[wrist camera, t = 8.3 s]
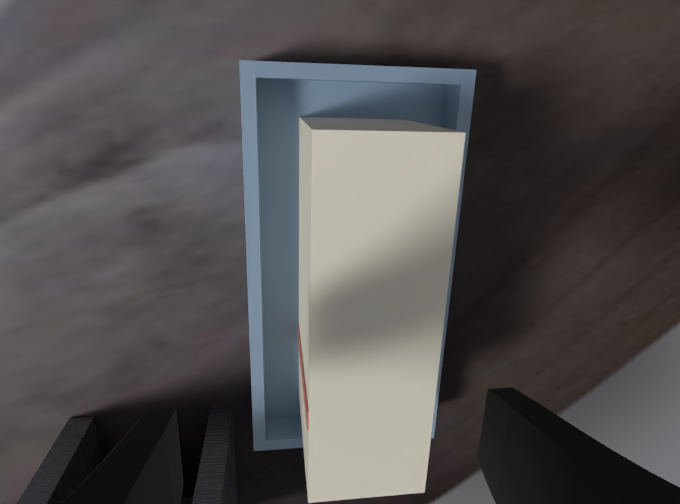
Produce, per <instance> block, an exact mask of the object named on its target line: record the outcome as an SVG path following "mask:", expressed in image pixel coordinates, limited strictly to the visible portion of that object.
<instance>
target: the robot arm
mask: <svg viewBox="0 0 680 504" xmlns="http://www.w3.org/2000/svg"><path fill="white" fill-rule="evenodd" d="M478 461H479V464H480V466H481V469H482V471H483V474H484V476H485V479H486V481H487V484H488V486H489V489H490V491H491V494H492V496H493V498H494V500H495V502H496V504H680V487H678V486H676V485H674V484H672V483H669V482H668V481H666V480H664V479H662V478H660V477H658V476H657V475H655V474H653V473H651V472H649V471H647V470H646V469H644V468H642V467H640V466H639V465H637V464H635V463H633V462H632V461H630V460H628V459H627V458H625V457H623V456H621V455H620V454H618V453H616V452H614V451H613V450H611V449H609V448H608V447H606V446H605V445H603V444H601V443H600V442H598V441H596V440H595V439H593V438H592V437H590V436H588V435H587V434H585V433H584V432H582V431H580V430H579V429H577V428H576V427H574V426H573V425H571V424H570V423H568V422H566V421H565V420H563V419H562V418H560V417H559V416H557V415H556V414H554V413H552V412H551V411H549V410H548V409H546V408H545V407H543V406H542V405H540V404H538V403H537V402H535V401H534V400H532V399H531V398H529V397H527V396H526V395H524V394H522V393H521V392H519V391H517V390H515V389H513V388H497V389H488V392H487V398H486V405H485V412H484V418H483V425H482V431H481V438H480V444H479V451H478ZM183 484H184V482H183V472H182V462H181V452H180V441H179V431H178V421H177V411H176V409H161V410H147V411H146V412H145V413H144V414H143V415H142V416H141V417H140V418H139V419H138V421H137V422H136V423H135V424H134V425H133V426H132V427H131V429H130V430H129V431H128V432H127V433H126V434H125V436H124V437H123V438H122V439H121V440H120V441H119V443H118V444H117V445H116V446H115V447H114V448H113V449H112V450H111V452H110V453H109V454H108V455H107V456H106V457H105V458H104V459H103V460H102V462H101V463H100V464H99V465H98V466H97V467H96V468H95V469H94V470H93V471H92V472H91V473H90V474H89V476H88V477H87V478H86V479H85V480H84V481H83V482H82V483H81V484H80V485H79V486H78V487H77V488H76V489H75V490H74V491H73V492H72V493H71V494H70V495H69V496H68V497H67V498H66V499H65V500H64V501H63V502H62V503H61V504H181V497H182V491H183Z"/></svg>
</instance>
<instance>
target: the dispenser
mask: <svg viewBox="0 0 680 504" xmlns="http://www.w3.org/2000/svg"><path fill="white" fill-rule="evenodd" d="M101 462H102V461H101V455H100V450H99V444H98V438H97V432H96V426H95V420H94V417H79V418H69V420H68V422H67V423H66V425H65V426H64V428H63V430H62V431H61V433H60V435H59V436H58V438H57V439H56V441H55V443H54V444H53V446H52V447H51V449H50V451H49V452H48V454H47V456H46V457H45V459H44V460H43V462H42V464H41V465H40V467H39V468H38V470H37V472H36V473H35V475H34V477H33V478H32V480H31V481H30V483H29V485H28V486H27V488H26V489H25V491H24V493H23V494H22V496H21V498H20V499H19V501H18V502H17V504H61V503H62V502H63V501H64V500H65V499H66V498H67V497H68V496H69V495H70V494H71V493H72V492H73V491H74V490H75V489H76V488H77V487H78V486H79V485H80V484H81V483H82V482H83V481H84V480H85V479H86V478H87V477H88V476H89V474H90V473H91V472H92V471H93V470H94V469H95V468H96V467H97V466H98V465H99V464H100V463H101ZM181 504H238V498H237V479H236V460H235V442H234V423H233V408H227V409H211V410H210V414H209V419H208V424H207V429H206V434H205V440H204V445H203V450H202V455H201V460H200V465H199V470H198V476H197V481H196V486H195V491H194V496H193V497H183V498H181Z"/></svg>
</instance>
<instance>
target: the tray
mask: <svg viewBox="0 0 680 504" xmlns="http://www.w3.org/2000/svg"><path fill="white" fill-rule="evenodd" d="M239 66H240V93H241V120H242V147H243V174H244V202H245V229H246V256H247V283H248V310H249V337H250V365H251V392H252V419H253V446H254V451H264V450H277V449H291V448H303V438H302V427H301V415H300V404H299V347H298V324H299V117H331V118H372V119H405V120H410V121H415V122H419V123H424V124H428V125H433V126H437V127H442V128H447V129H451V130H456V131H460V132H465V133H466V135H465V143H464V152H463V161H462V170H461V179H460V187H459V196H458V205H457V214H456V222H455V231H454V240H453V249H452V257H451V266H450V275H449V284H448V292H447V301H446V310H445V319H444V328H443V336H442V345H441V354H440V363H439V371H438V380H437V389H436V398H435V409H434V417H433V424H432V433H431V438H434V432H435V423H436V415H437V406H438V397H439V389H440V380H441V372H442V363H443V354H444V346H445V337H446V329H447V320H448V312H449V303H450V294H451V286H452V277H453V269H454V260H455V251H456V243H457V234H458V226H459V217H460V208H461V200H462V191H463V183H464V174H465V166H466V157H467V148H468V140H469V131H470V123H471V114H472V105H473V97H474V88H475V80H476V71H477V70H471V69H446V68H422V67H397V66H372V65H347V64H322V63H298V62H273V61H248V60H239Z"/></svg>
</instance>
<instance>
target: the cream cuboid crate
mask: <svg viewBox="0 0 680 504" xmlns="http://www.w3.org/2000/svg"><path fill="white" fill-rule="evenodd" d="M465 135H466V133H465V132H460V131H456V130H451V129H447V128H442V127H437V126H433V125H428V124H424V123H419V122H415V121H410V120H405V119H372V118H331V117H299V324H298V347H299V404H300V415H301V427H302V438H303V450H304V461H305V473H306V485H307V496H308V503H314V502H325V501H336V500H347V499H358V498H369V497H380V496H391V495H403V494H414V493H425V485H426V477H427V468H428V459H429V450H430V441H431V433H432V424H433V417H434V409H435V398H436V389H437V380H438V371H439V363H440V354H441V345H442V336H443V328H444V319H445V310H446V301H447V292H448V284H449V275H450V266H451V257H452V249H453V240H454V231H455V222H456V214H457V205H458V196H459V187H460V179H461V170H462V161H463V152H464V143H465Z"/></svg>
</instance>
